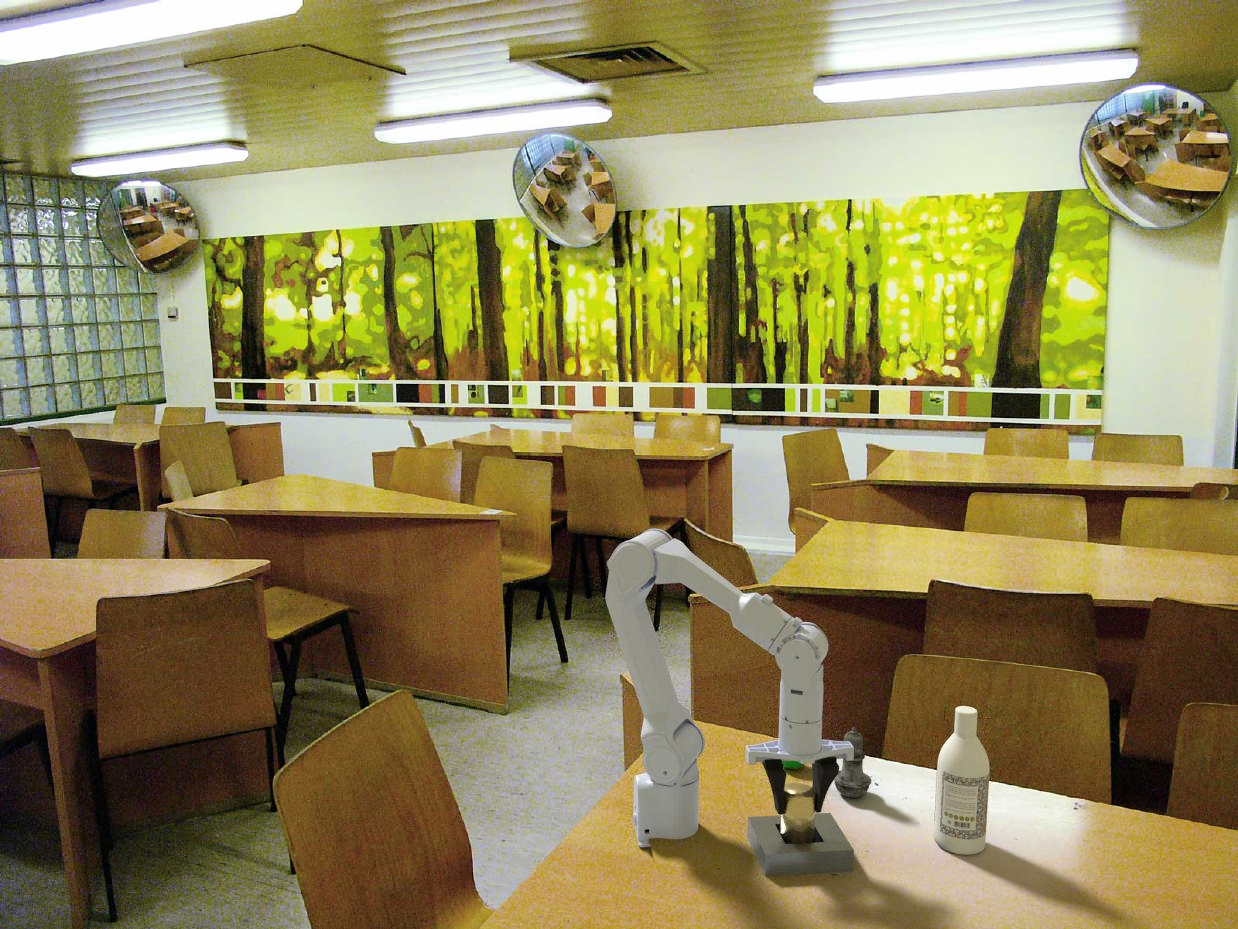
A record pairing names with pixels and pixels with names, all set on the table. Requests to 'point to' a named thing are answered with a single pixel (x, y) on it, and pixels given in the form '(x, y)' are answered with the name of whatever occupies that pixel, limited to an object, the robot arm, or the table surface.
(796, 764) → the polyhedron
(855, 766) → the grey chess piece
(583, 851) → the table surface
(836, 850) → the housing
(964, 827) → the bath foam
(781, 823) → the plug
